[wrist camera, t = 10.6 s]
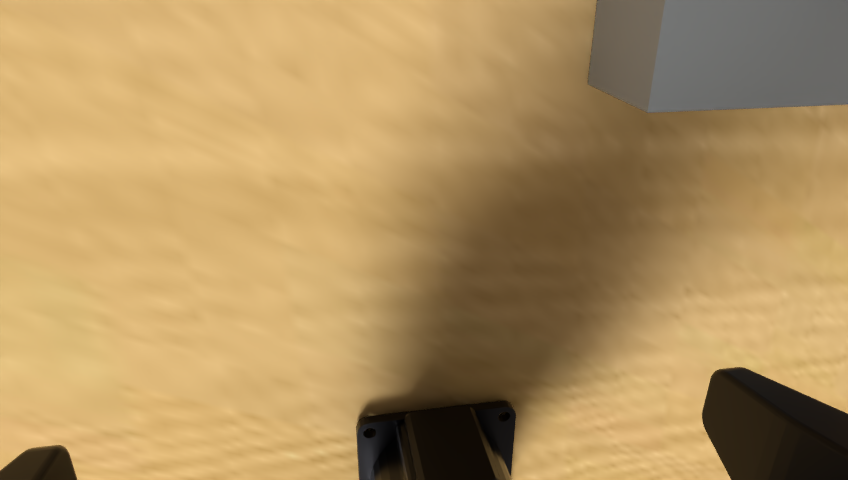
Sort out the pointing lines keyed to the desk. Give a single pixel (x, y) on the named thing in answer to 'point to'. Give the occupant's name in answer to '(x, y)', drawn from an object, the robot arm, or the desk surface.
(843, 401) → the desk surface
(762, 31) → the frame
